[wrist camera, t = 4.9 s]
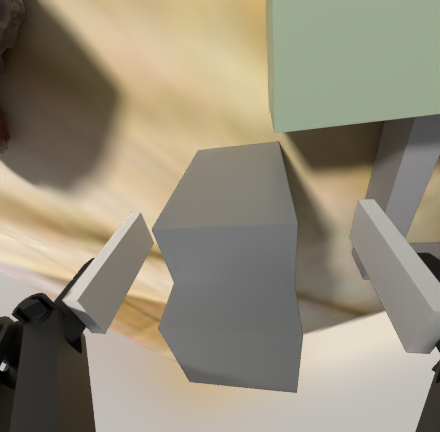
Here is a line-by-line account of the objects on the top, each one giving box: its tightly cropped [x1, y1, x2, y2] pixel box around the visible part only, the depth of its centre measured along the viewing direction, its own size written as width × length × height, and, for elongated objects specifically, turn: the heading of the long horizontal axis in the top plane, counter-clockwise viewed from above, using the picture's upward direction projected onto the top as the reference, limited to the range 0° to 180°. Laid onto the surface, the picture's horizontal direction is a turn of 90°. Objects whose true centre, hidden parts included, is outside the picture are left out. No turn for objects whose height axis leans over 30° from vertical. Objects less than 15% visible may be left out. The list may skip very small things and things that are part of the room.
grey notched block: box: [152, 141, 303, 393], centre depth 12 cm, size 5×8×10 cm, turn 9°
